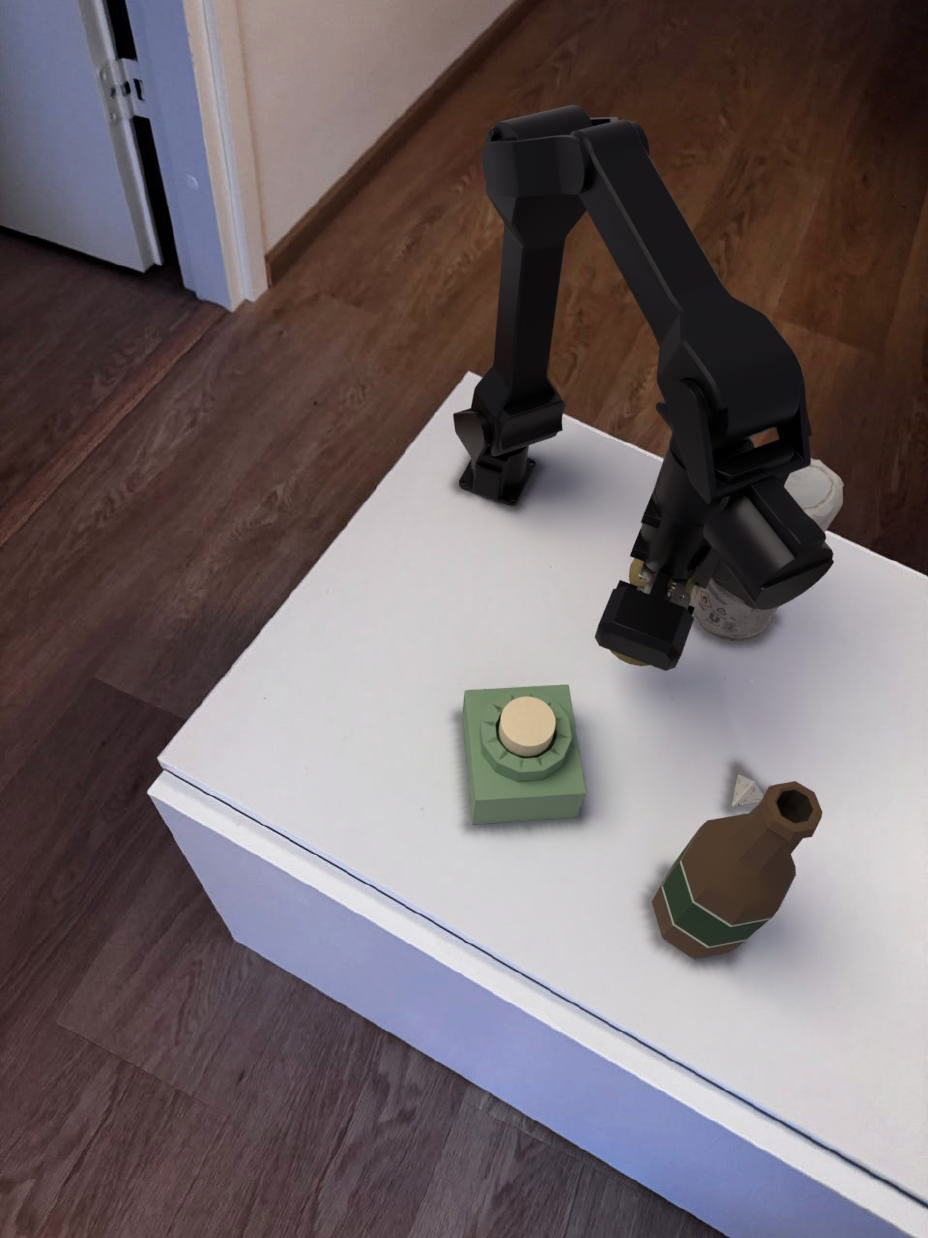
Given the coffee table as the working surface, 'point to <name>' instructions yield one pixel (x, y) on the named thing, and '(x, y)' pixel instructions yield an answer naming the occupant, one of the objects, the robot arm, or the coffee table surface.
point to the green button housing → (521, 760)
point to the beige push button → (527, 726)
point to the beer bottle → (735, 873)
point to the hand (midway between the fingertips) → (649, 613)
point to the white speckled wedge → (746, 791)
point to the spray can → (737, 621)
